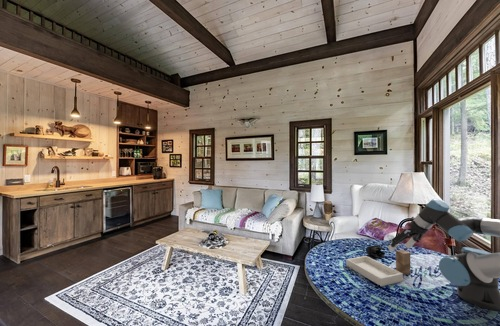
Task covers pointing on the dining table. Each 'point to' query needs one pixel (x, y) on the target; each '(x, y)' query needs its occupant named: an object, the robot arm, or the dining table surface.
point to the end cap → (375, 251)
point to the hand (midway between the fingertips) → (398, 248)
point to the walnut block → (403, 262)
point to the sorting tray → (374, 270)
